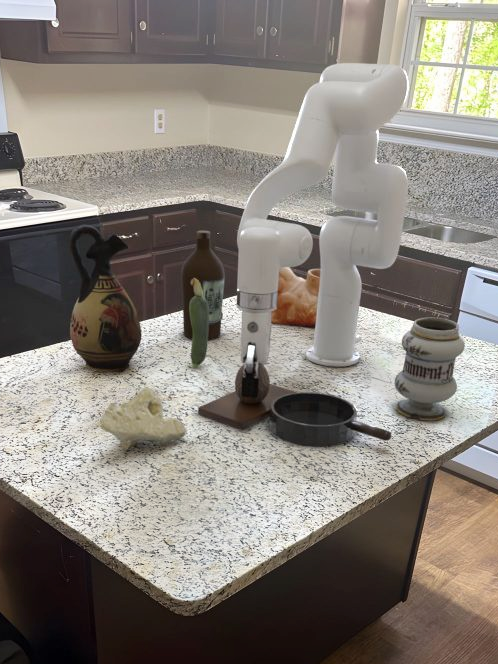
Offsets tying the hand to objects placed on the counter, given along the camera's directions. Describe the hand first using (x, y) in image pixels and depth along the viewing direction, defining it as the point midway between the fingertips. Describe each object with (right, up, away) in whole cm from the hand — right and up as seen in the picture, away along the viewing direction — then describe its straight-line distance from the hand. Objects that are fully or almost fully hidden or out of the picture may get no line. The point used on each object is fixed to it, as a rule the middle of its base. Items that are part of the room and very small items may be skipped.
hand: (252, 388), depth 143 cm
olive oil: (-11, +21, +41) cm, 48 cm away
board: (0, -3, +2) cm, 4 cm away
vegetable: (-11, +8, +21) cm, 25 cm away
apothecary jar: (+34, -4, +3) cm, 35 cm away
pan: (+11, -8, -6) cm, 15 cm away
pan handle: (+21, -11, -13) cm, 27 cm away
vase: (0, -2, +1) cm, 3 cm away
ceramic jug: (-33, +8, +20) cm, 39 cm away
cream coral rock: (-20, -13, -15) cm, 29 cm away
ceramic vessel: (+15, +28, +55) cm, 64 cm away
